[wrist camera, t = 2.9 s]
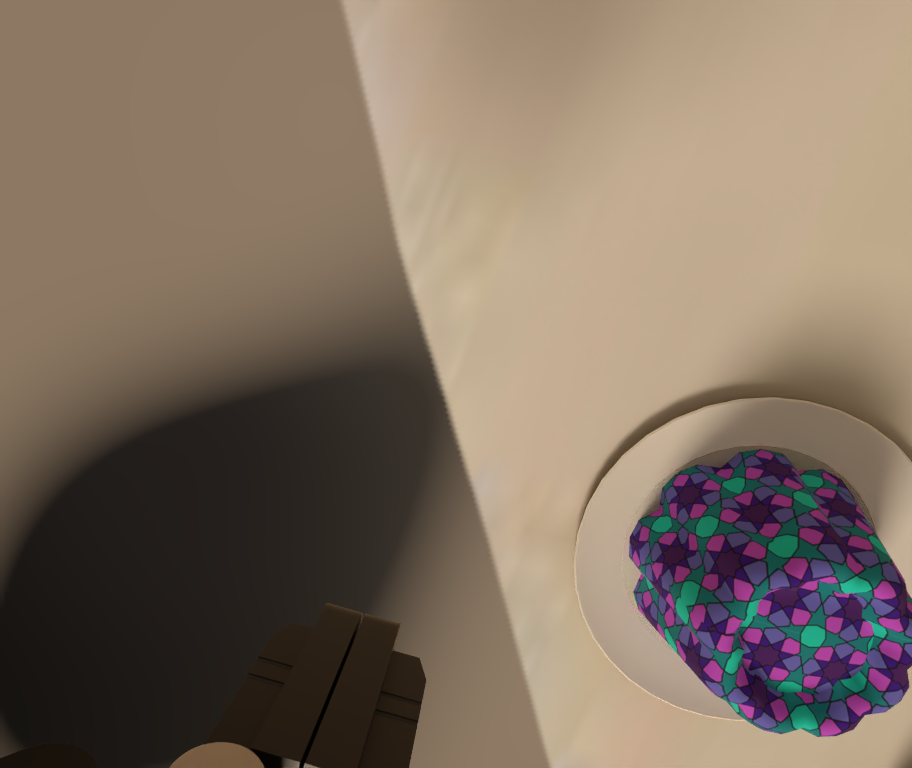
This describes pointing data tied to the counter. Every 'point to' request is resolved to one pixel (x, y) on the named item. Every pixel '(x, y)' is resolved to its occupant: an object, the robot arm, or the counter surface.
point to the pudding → (757, 568)
